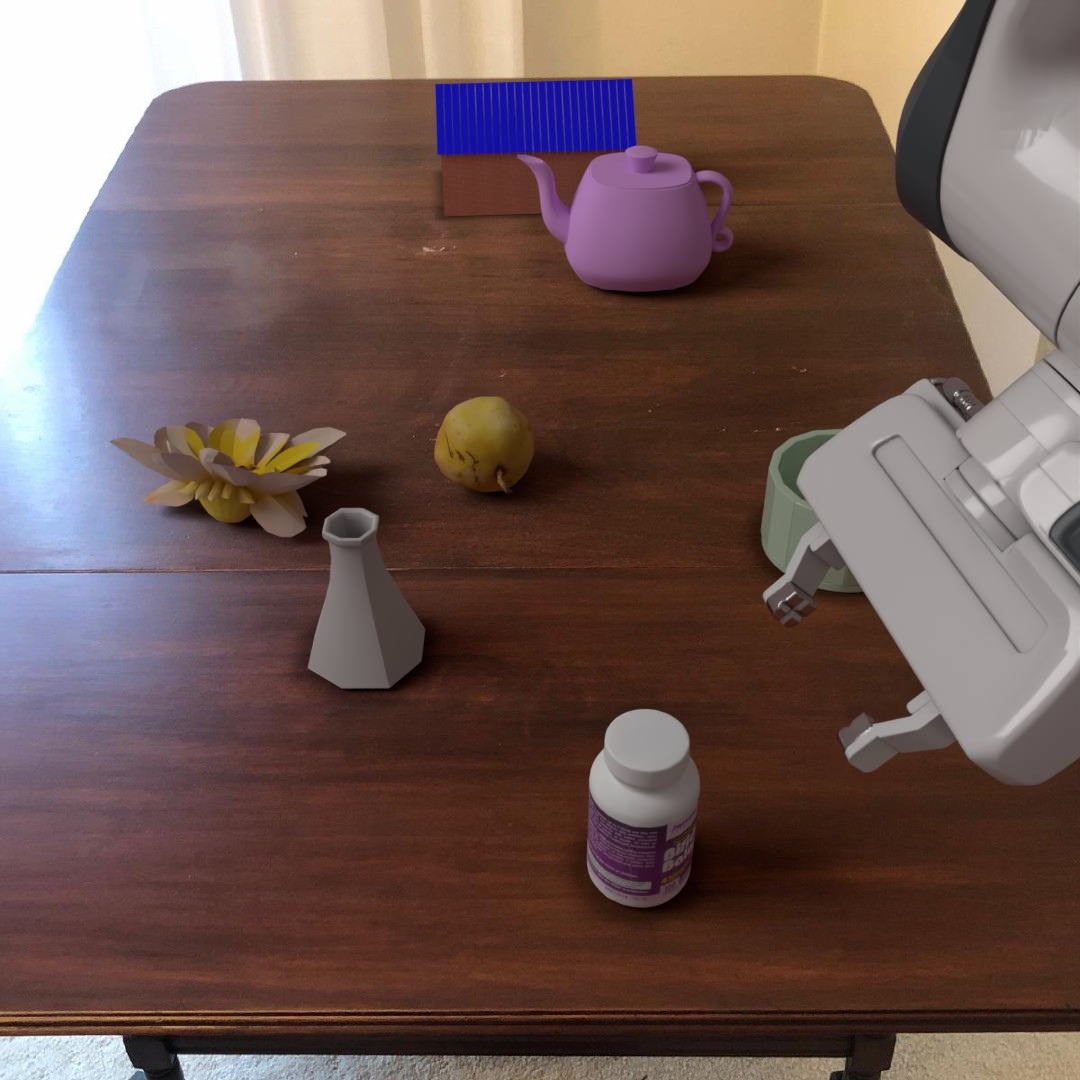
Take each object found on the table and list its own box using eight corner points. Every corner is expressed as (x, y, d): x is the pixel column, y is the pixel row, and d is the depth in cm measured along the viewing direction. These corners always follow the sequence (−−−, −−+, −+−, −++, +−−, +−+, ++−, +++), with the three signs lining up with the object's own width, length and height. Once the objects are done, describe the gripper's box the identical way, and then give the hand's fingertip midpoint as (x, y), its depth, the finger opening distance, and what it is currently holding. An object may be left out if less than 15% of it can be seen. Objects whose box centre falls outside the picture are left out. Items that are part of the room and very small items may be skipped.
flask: (287, 678, 74) (262, 549, 68) (340, 602, 79) (322, 476, 73) (397, 705, 72) (382, 575, 66) (444, 626, 77) (434, 499, 71)
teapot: (723, 240, 121) (733, 122, 114) (737, 304, 111) (750, 178, 103) (521, 241, 121) (518, 123, 114) (517, 304, 111) (513, 179, 104)
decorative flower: (393, 456, 89) (354, 352, 81) (321, 574, 83) (272, 474, 75) (223, 426, 94) (172, 326, 87) (144, 535, 88) (81, 438, 80)
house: (442, 173, 135) (436, 65, 128) (622, 167, 136) (626, 60, 129) (441, 217, 126) (434, 104, 119) (634, 212, 127) (638, 98, 119)
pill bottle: (683, 921, 60) (696, 793, 54) (577, 900, 61) (579, 772, 55) (697, 835, 64) (711, 707, 58) (598, 816, 65) (602, 689, 59)
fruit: (558, 446, 83) (527, 370, 90) (459, 438, 81) (436, 361, 88) (534, 526, 87) (506, 447, 94) (439, 520, 84) (419, 440, 92)
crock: (945, 564, 81) (964, 491, 78) (821, 611, 78) (834, 537, 74) (849, 484, 89) (862, 414, 85) (731, 524, 85) (739, 453, 81)
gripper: (911, 325, 58) (699, 514, 63) (1166, 604, 43) (859, 829, 47) (977, 394, 62) (772, 569, 66) (1236, 676, 46) (943, 879, 51)
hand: (809, 680), depth 57 cm, fingers open, 8 cm apart
